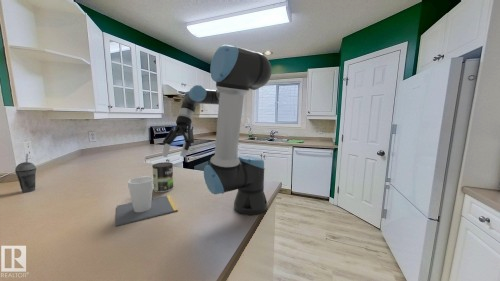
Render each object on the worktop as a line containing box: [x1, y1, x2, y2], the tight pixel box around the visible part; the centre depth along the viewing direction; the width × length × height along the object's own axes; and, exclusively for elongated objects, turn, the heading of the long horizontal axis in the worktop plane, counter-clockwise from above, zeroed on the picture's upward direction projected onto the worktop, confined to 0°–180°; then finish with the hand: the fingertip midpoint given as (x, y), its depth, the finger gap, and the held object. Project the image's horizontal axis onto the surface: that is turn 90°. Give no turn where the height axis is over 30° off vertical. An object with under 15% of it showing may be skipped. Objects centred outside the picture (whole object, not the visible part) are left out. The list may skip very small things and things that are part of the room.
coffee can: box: [152, 161, 175, 193], centre depth 105 cm, size 10×10×14 cm
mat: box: [115, 194, 179, 227], centre depth 83 cm, size 18×22×1 cm
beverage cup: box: [14, 153, 37, 194], centre depth 99 cm, size 7×7×20 cm
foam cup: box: [127, 175, 154, 212], centre depth 81 cm, size 10×9×13 cm
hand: (173, 156), depth 94 cm, fingers open, 13 cm apart
